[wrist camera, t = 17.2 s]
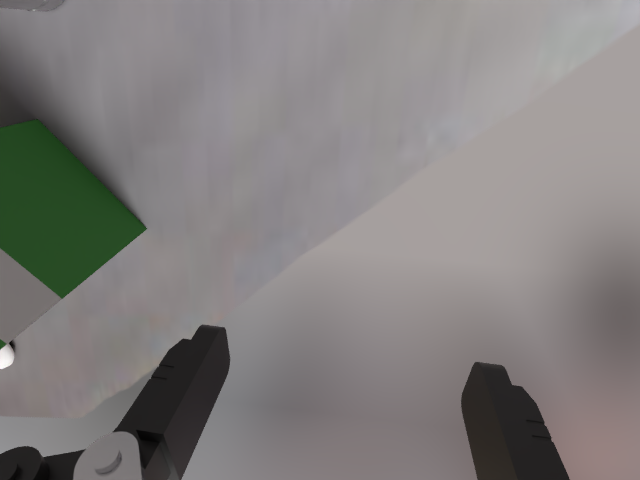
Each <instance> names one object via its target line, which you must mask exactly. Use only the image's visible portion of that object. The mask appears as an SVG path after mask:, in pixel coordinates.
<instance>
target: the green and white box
mask: <svg viewBox="0 0 640 480" xmlns="http://www.w3.org/2000/svg"><path fill="white" fill-rule="evenodd" d="M146 229H147V228H146V227H145V226H144V225H143V224H142V223H141V222H140V221H139V220H138V219H137V218H136V217H135V216H134V215H133V214H132V213H131V212H130V211H129V210H128V209H127V208H126V207H125V206H124V205H123V204H122V203H121V202H120V201H119V200H118V199H117V198H116V197H115V196H114V195H113V194H112V193H111V192H110V191H109V190H108V189H107V188H106V187H105V186H104V185H103V184H102V183H101V182H100V181H99V180H98V179H97V178H96V177H95V176H94V175H93V174H92V173H91V172H90V171H89V170H88V169H87V168H86V167H85V166H84V165H83V164H82V163H81V162H80V161H79V160H78V159H77V158H76V157H75V156H74V155H73V154H72V153H71V152H70V151H69V150H68V149H67V148H66V147H65V146H64V145H63V144H62V143H61V142H60V141H59V140H58V139H57V138H56V137H55V136H54V135H53V134H52V133H51V132H50V131H49V130H48V129H47V128H46V127H45V126H44V125H43V124H42V123H41V122H40V121H39V120H38V119H36V120H31V121H27V122H23V123H19V124H14V125H10V126H6V127H1V128H0V350H1V349H2V348H3V347H4V346H6V345H7V344H8V343H9V342H10V341H12V340H13V339H14V338H15V337H16V336H18V335H19V334H20V333H21V332H23V331H24V330H25V329H26V328H27V327H29V326H30V325H31V324H32V323H33V322H35V321H36V320H37V319H38V318H39V317H41V316H42V315H43V314H44V313H46V312H47V311H48V310H49V309H50V308H52V307H53V306H54V305H55V304H56V303H58V302H59V301H60V300H61V299H63V298H64V297H65V296H66V295H67V294H69V293H70V292H71V291H72V290H73V289H75V288H76V287H77V286H78V285H80V284H81V283H82V282H83V281H84V280H86V279H87V278H88V277H89V276H90V275H92V274H93V273H94V272H95V271H96V270H98V269H99V268H100V267H101V266H103V265H104V264H105V263H106V262H107V261H109V260H110V259H111V258H112V257H113V256H115V255H116V254H117V253H118V252H120V251H121V250H122V249H123V248H124V247H126V246H127V245H128V244H129V243H130V242H132V241H133V240H134V239H135V238H137V237H138V236H139V235H140V234H141V233H143V232H144V231H145V230H146Z"/></svg>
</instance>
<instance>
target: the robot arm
mask: <svg viewBox="0 0 640 480" xmlns="http://www.w3.org/2000/svg"><path fill="white" fill-rule="evenodd" d="M63 1H64V0H0V8H9V9H22V10H28V11H32V10H33V11H49V10H53V9H55V8H57V7H58V6H60V5H61V4H62V3H63ZM229 365H230V355H229V348H228V341H227V334H226V329H225V328H224V327H217V326H210V325H201V326H200V327H199V328H198V329H197V331H196V333H195V334H194V336H193V337H192V339H191V340H189V339H182V340H181V341H179V342H178V343H177V344H176V345H175V346H173V347H172V348H171V349H170V350H169V351H168V352H167V354H166V355H165V357H164V358H163V360H162V361H161V363H160V364H159V367H157V369H156V370H155V372H154V373H153V375H152V377H151V379H149V381H148V382H147V384H146V385H145V387H144V388H143V390H142V391H141V393H140V394H139V396H138V397H137V399H136V400H135V402H134V403H133V405H132V406H131V408H130V409H129V411H128V412H127V414H126V415H125V416H124V418H123V419H122V421H121V422H120V424H119V425H118V427H117V428H116V429H115V430H114V431H113V432H112V433H110V434H107V435H105V436H103V437H101V438H99V439H97V440H96V441H95V442H93V443H92V444H91V445H90V446H89V447H88V448H87V449H85V450H80V451H76V452H71V453H64V454H59V455H53V456H47V457H42V455H41V454H40V453H39V451H38V450H37V449H35V448H33V447H29V446H27V447H26V446H24V447H17V448H14V449H11V450H8V451H6V452H4V453H2V454H0V480H181V479H182V477H183V474H184V472H185V470H186V468H187V465H188V463H189V461H190V458H191V456H192V454H193V452H194V449H195V447H196V445H197V443H198V440H199V438H200V436H201V434H202V431H203V429H204V427H205V424H206V422H207V420H208V418H209V415H210V413H211V411H212V409H213V407H214V404H215V402H216V400H217V397H218V395H219V393H220V391H221V388H222V386H223V384H224V382H225V379H226V377H227V374H228V371H229ZM461 407H462V414H463V418H464V423H465V427H466V431H467V436H468V440H469V444H470V449H471V453H472V457H473V462H474V465H475V470H476V474H477V479H478V480H570V479H569V477H568V474H567V472H566V470H565V468H564V465H563V463H562V461H561V458H560V456H559V454H558V452H557V449H556V447H555V445H554V443H553V442H552V441H551V436H550V434H549V431H548V429H547V427H546V426H545V425H544V420H543V418H542V415H541V413H540V411H539V409H538V406H537V404H536V403H535V402H534V400H533V399H532V398H531V397H530V396H529V394H528V393H527V392H526V391H525V390H524V389H523V387H521V386H514V385H512V384H511V381H510V379H509V376H508V374H507V371H506V369H505V368H504V367H503V366H502V365H496V364H489V363H480V362H475V363H474V365H473V367H472V369H471V372H470V375H469V377H468V380H467V382H466V385H465V387H464V390H463V393H462V399H461Z"/></svg>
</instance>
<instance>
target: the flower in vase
mask: <svg viewBox="0 0 640 480" xmlns="http://www.w3.org/2000/svg"><path fill="white" fill-rule="evenodd" d="M13 360H14V351H13V349H12V347H11V346H10V344H9V343H8V344H7V345H6V346H4V347H3V348H2V349H1V350H0V369H3V368H5V367H7V366H9V365H11V364H12V363H13Z"/></svg>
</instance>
